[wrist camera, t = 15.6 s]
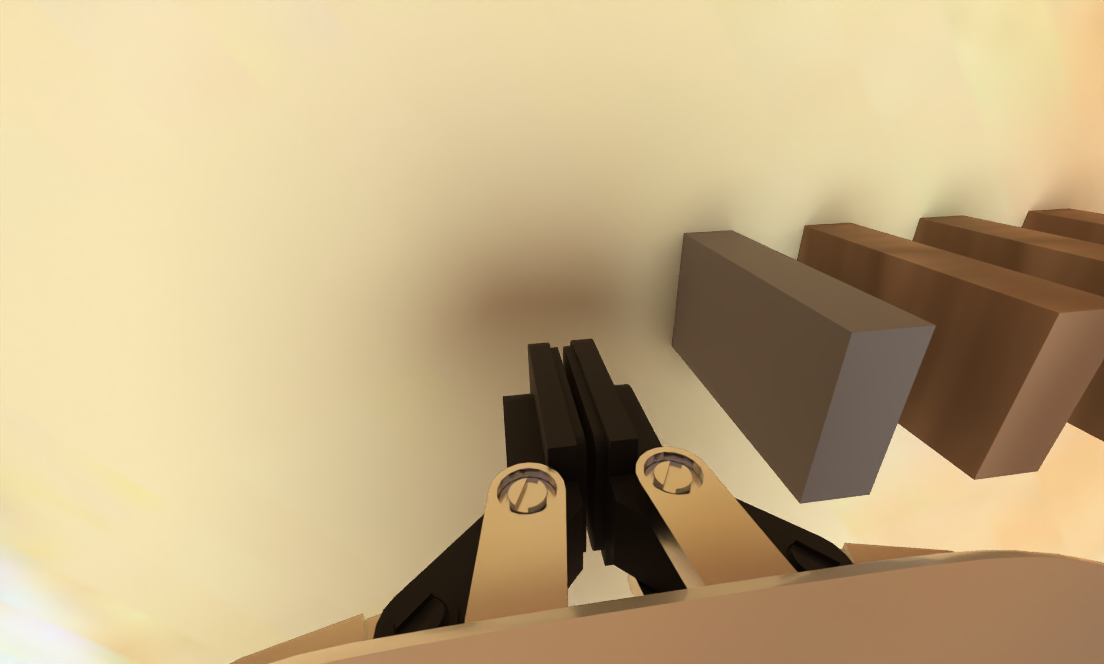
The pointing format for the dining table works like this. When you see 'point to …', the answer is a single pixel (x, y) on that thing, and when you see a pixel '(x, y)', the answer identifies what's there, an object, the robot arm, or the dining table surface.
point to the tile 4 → (1068, 224)
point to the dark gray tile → (797, 360)
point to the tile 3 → (1035, 256)
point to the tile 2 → (975, 345)
